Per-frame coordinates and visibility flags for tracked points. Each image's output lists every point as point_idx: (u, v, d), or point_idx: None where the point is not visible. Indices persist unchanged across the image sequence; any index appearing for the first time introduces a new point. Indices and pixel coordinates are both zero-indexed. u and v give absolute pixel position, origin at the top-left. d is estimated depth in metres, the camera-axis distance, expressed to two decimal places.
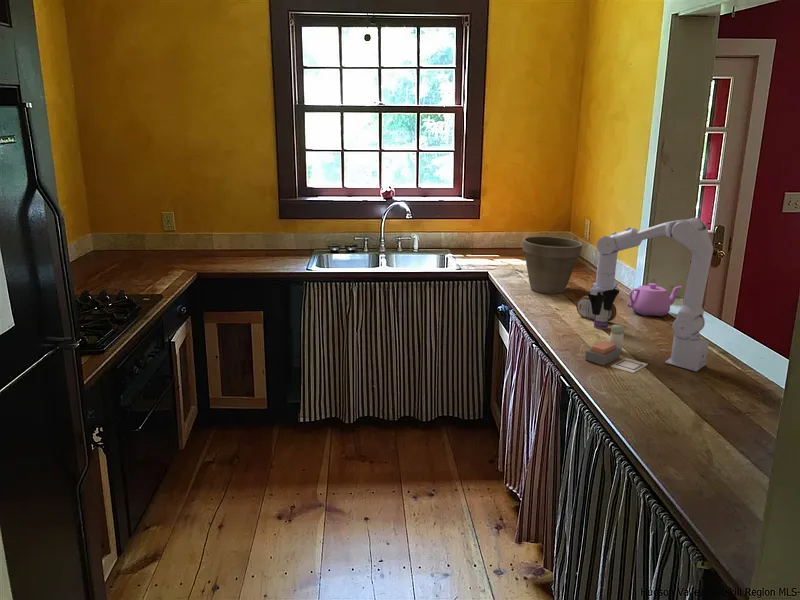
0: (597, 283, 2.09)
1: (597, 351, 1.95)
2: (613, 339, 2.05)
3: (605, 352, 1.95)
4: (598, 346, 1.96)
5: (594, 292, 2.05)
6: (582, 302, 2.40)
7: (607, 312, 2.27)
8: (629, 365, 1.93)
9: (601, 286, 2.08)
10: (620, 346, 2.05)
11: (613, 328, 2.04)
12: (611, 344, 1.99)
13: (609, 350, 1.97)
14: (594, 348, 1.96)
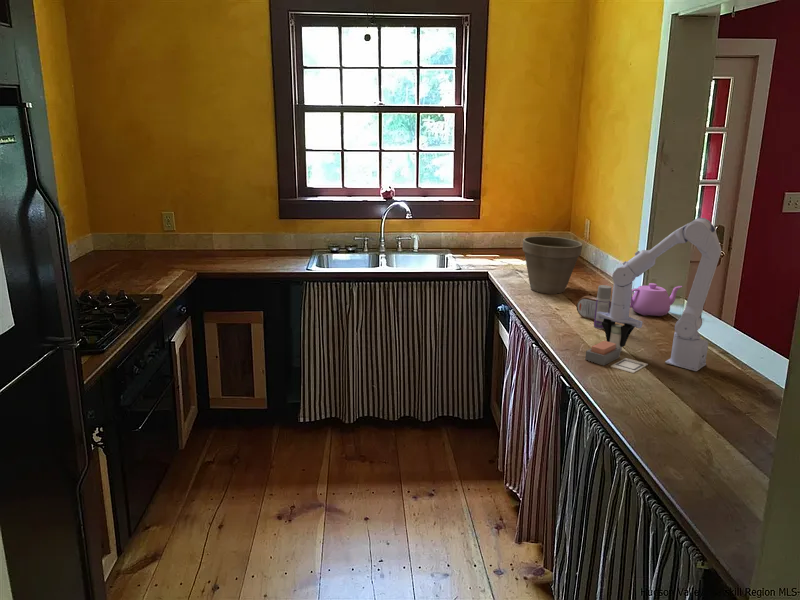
0: None
1: (597, 351, 1.95)
2: (613, 339, 2.05)
3: (605, 352, 1.95)
4: (598, 346, 1.96)
5: None
6: (582, 302, 2.40)
7: (607, 312, 2.27)
8: (629, 365, 1.93)
9: None
10: (620, 346, 2.05)
11: (613, 328, 2.04)
12: (611, 344, 1.99)
13: (609, 350, 1.97)
14: (594, 348, 1.96)
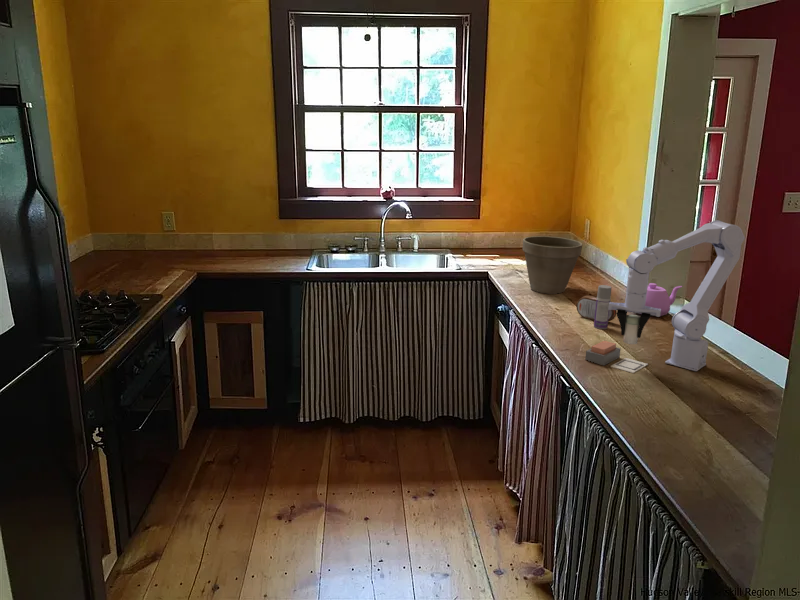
0: None
1: (597, 351, 1.95)
2: (630, 330, 1.91)
3: (605, 352, 1.95)
4: (598, 346, 1.96)
5: None
6: (582, 302, 2.40)
7: (607, 312, 2.27)
8: (629, 365, 1.93)
9: (624, 304, 1.91)
10: None
11: (630, 319, 1.90)
12: (611, 344, 1.99)
13: (609, 350, 1.97)
14: (594, 348, 1.96)
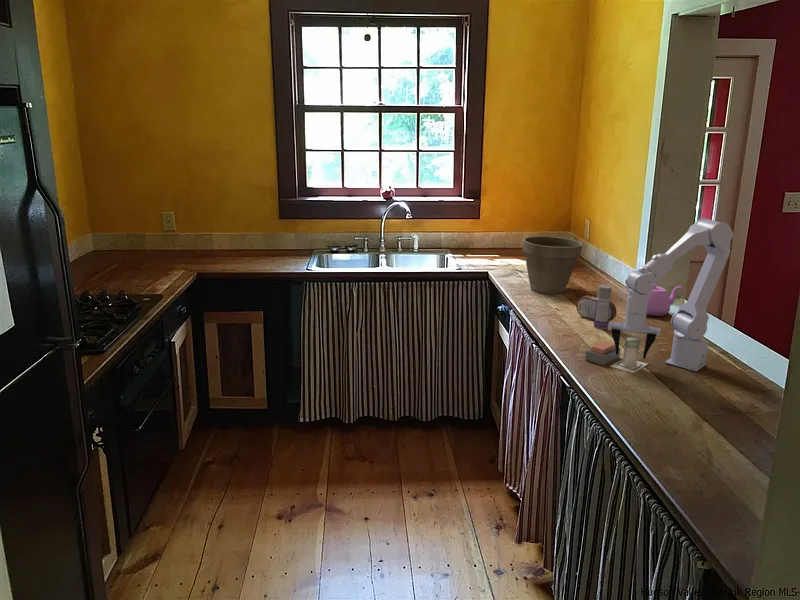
0: None
1: (597, 351, 1.95)
2: (630, 354, 1.91)
3: (605, 352, 1.95)
4: (598, 346, 1.96)
5: (608, 326, 1.93)
6: (582, 302, 2.40)
7: (607, 312, 2.27)
8: None
9: (624, 324, 1.91)
10: (636, 360, 1.92)
11: (630, 342, 1.90)
12: (611, 344, 1.99)
13: (609, 350, 1.97)
14: (594, 348, 1.96)
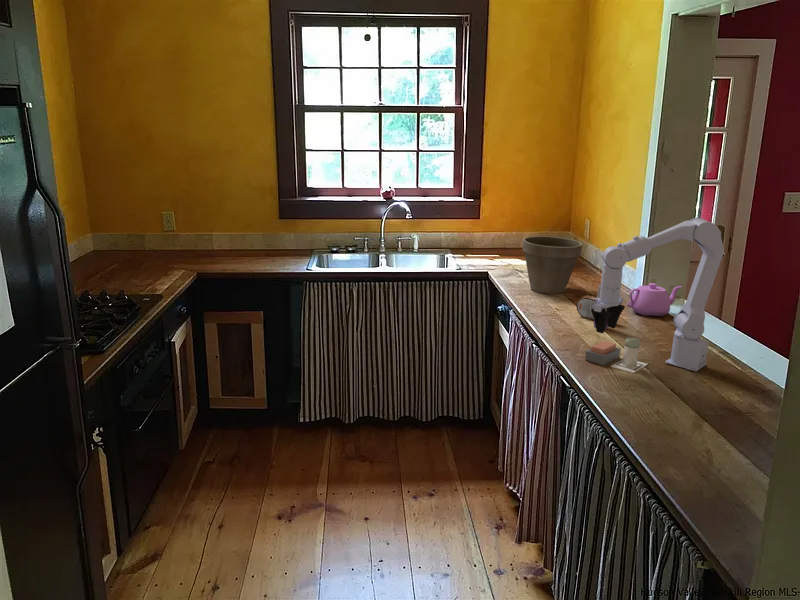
0: (601, 298, 1.93)
1: (597, 351, 1.95)
2: (630, 354, 1.91)
3: (605, 352, 1.95)
4: (598, 346, 1.96)
5: (598, 309, 1.89)
6: (582, 302, 2.40)
7: None
8: None
9: (605, 302, 1.92)
10: (636, 360, 1.92)
11: (630, 342, 1.90)
12: (611, 344, 1.99)
13: (609, 350, 1.97)
14: (594, 348, 1.96)
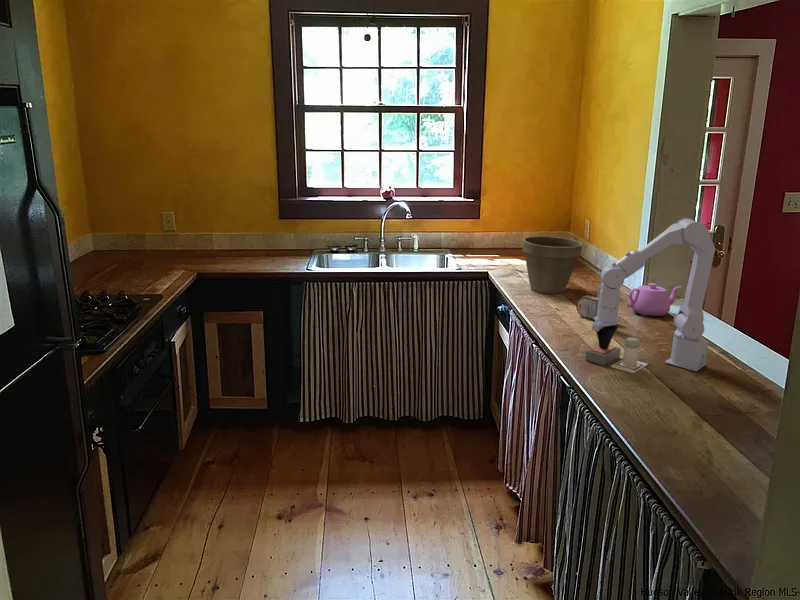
0: (599, 318, 1.95)
1: None
2: (630, 354, 1.91)
3: None
4: (598, 349, 1.97)
5: (596, 328, 1.91)
6: (582, 302, 2.40)
7: None
8: None
9: (603, 321, 1.93)
10: (636, 360, 1.92)
11: (630, 342, 1.90)
12: (611, 347, 1.99)
13: None
14: (594, 351, 1.96)
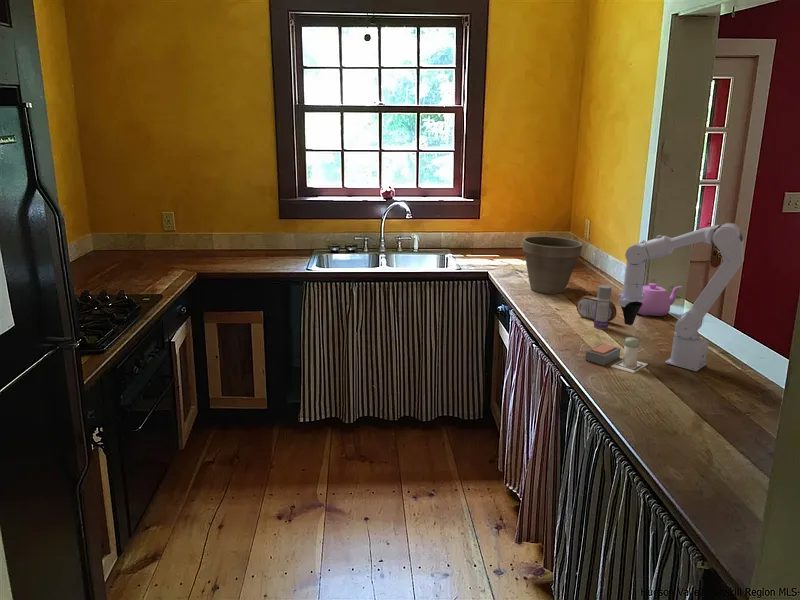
0: (624, 294, 1.99)
1: None
2: (630, 353, 1.91)
3: None
4: (598, 349, 1.97)
5: (622, 304, 1.95)
6: (582, 302, 2.40)
7: (607, 312, 2.27)
8: None
9: (629, 297, 1.98)
10: (636, 360, 1.92)
11: (630, 342, 1.90)
12: (611, 347, 1.99)
13: None
14: (594, 351, 1.96)
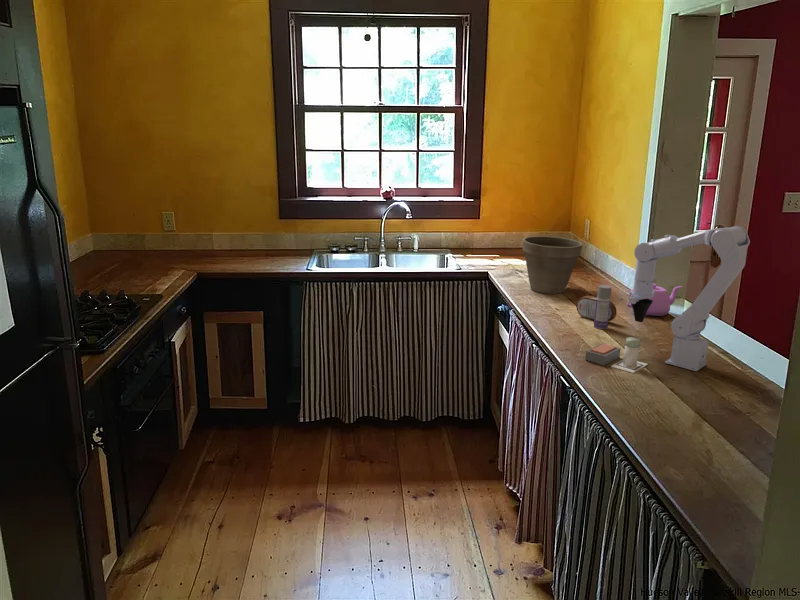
0: (635, 291, 2.02)
1: None
2: (630, 353, 1.91)
3: None
4: (598, 349, 1.97)
5: (633, 301, 1.99)
6: (582, 302, 2.40)
7: (607, 312, 2.27)
8: None
9: (639, 294, 2.01)
10: (636, 360, 1.92)
11: (630, 342, 1.90)
12: (611, 347, 1.99)
13: None
14: (594, 351, 1.96)
